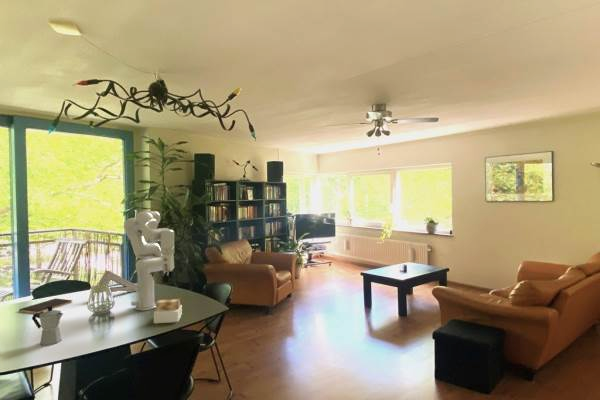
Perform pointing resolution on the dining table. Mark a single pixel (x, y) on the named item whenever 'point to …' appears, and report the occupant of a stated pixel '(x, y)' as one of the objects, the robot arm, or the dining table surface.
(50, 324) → the coffee maker
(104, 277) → the wall bracket
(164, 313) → the white recessed tray
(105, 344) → the dining table surface
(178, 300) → the tan brown rectangular block
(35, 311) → the hardcover book
